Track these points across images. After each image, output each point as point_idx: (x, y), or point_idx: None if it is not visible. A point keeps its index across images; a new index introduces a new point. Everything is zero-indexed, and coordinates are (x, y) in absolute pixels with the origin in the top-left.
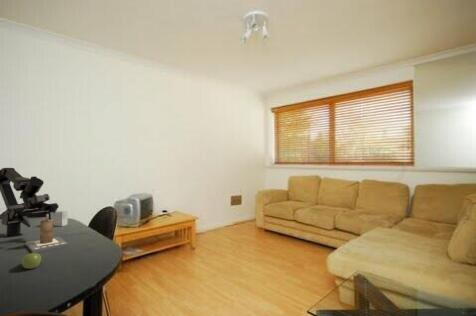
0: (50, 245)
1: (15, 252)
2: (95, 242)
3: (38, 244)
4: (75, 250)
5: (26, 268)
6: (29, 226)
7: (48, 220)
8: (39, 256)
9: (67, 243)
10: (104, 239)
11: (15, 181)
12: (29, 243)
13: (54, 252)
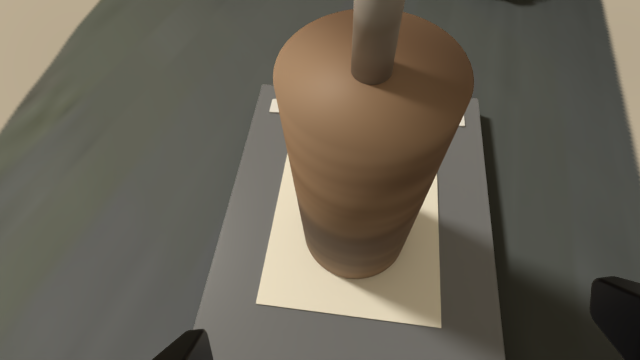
0: None
1: (577, 211)
2: (130, 57)
3: (423, 205)
4: (283, 10)
5: None
6: (606, 286)
7: (347, 73)
8: None
9: (265, 88)
10: (55, 73)
11: None
12: (482, 317)
13: None
